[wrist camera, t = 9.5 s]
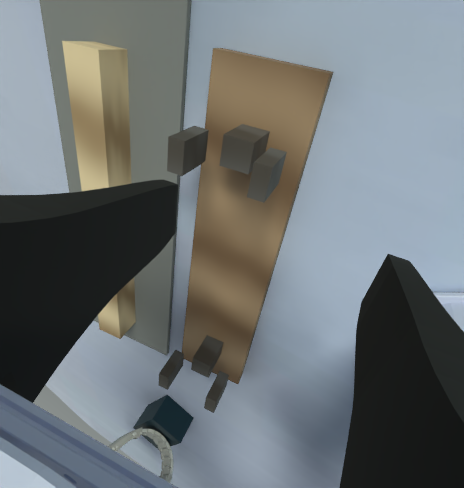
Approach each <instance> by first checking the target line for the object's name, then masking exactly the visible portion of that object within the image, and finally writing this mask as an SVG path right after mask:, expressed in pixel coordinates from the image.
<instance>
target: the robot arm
mask: <svg viewBox="0 0 464 488" xmlns="http://www.w3.org/2000/svg"><path fill="white" fill-rule="evenodd" d="M177 201H178V184H176V183H173V182H170V181H167V180H150V181H143V182H137V183H131V184H126V185H120V186H114V187H108V188H101V189H94V190H88V191H81V192H72V193H62V194H47V195H0V488H178V487H176V486H174V485H172V484H171V483H169V482H167V481H166V480H164V479H162V478H160V477H159V476H157V475H155V474H154V473H152V472H150V471H148V470H147V469H145V468H143V467H142V466H140V465H138V464H136V463H135V462H133V461H131V460H130V459H128V458H126V457H124V456H122V455H121V454H119V453H117V452H116V451H114V450H112V449H111V448H109V447H107V446H105V445H104V444H102V443H100V442H99V441H97V440H95V439H93V438H92V437H90V436H88V435H86V434H85V433H83V432H81V431H80V430H78V429H76V428H74V427H73V426H71V425H69V424H67V423H66V422H64V421H63V420H60V419H59V418H57V417H56V416H54V415H52V414H50V413H49V412H47V411H45V410H44V409H42V408H40V407H38V406H36V405H35V404H33V402H34V400H35V399H36V397H37V396H38V394H39V393H40V391H41V390H42V388H43V387H44V386H45V384H46V383H47V381H48V380H49V378H50V377H51V376H52V374H53V373H54V371H55V370H56V368H57V367H58V366H59V364H60V363H61V362H62V360H63V359H64V358H65V356H66V355H67V354H68V352H69V351H70V349H71V348H72V347H73V345H74V344H75V343H76V341H77V340H78V339H79V338H80V336H81V335H82V334H83V333H84V331H85V330H86V329H87V328H88V326H89V325H90V324H91V323H92V321H93V320H94V319H95V318H96V317H97V315H98V314H99V313H100V312H101V311H102V310H103V308H104V307H105V306H106V305H107V304H108V303H109V301H110V300H111V299H112V298H113V297H114V296H115V295H116V294H117V293H118V292H119V291H120V290H121V289H122V288H123V287H124V286H125V285H126V284H127V283H128V282H129V281H131V280H132V279H133V278H134V277H135V276H136V275H137V274H138V273H139V272H140V271H141V270H142V269H143V268H144V267H146V266H147V265H148V264H149V263H150V262H151V261H152V260H153V259H154V258H155V257H156V256H157V255H158V254H159V253H160V252H161V251H162V250H163V248H164V247H165V246H166V245H167V244H168V242H169V241H170V240H171V238H172V237H173V235H174V234H175V233H176V218H177ZM340 488H464V293H445V292H432V291H431V289H430V288H429V287H428V285H427V284H426V282H425V281H424V280H423V278H422V277H421V275H420V274H419V273H418V271H417V270H416V269H415V267H414V266H413V265H412V264H411V262H410V261H408V260H405V259H402V258H399V257H396V256H393V255H390V254H388V255H387V257H386V258H385V260H384V262H383V264H382V266H381V268H380V269H379V271H378V273H377V275H376V277H375V279H374V280H373V282H372V284H371V286H370V288H369V289H368V291H367V293H366V295H365V297H364V299H363V300H362V303H361V308H360V313H359V318H358V323H357V330H356V351H355V379H354V399H353V410H352V416H351V423H350V429H349V436H348V442H347V448H346V454H345V460H344V466H343V471H342V477H341V482H340Z"/></svg>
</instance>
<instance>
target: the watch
mask: <svg viewBox="0 0 464 488" xmlns="http://www.w3.org/2000/svg"><path fill="white" fill-rule="evenodd" d="M192 420H193V417H192V416H191V415H190V414H188V413H187V412H186V411H185V410H184V409H183V408H182V407H181V406H179V405H178V404H177V403H176V402H175V401H174V400H173V399H171V398H170V397H169V396H168V395H166V396H164V397H162V398H161V399H159V400H157V401H155V402H153V403H151V404H149V405H148V406H147V408H146V409H145V411H144V412H143V414H142V415H141V417H140V418H139V420H138V421H137V423H136V424H135V426H134V427H133V428H134V429H135V430H134V431H132V432H129V433H127V434H125V435H123V436H122V437H120V438H118V439H117V440H116V441H114V442H113V443H112V444H110V445H109V446H108V447H109V448H111V449H112V450H114V451H117V450H118V449H120V448H121V447H122V446H123V445H124V444H126V443H127V442H128V441H130V440H132V439H137V438H139V437H140V435H142V436H144V437H145V438H146V439H147V440H148V441H149V442H151V443H152V444H153V445H154V446H155V447H156V448H158V449H159V451H160V452H161V459H162V460H164V461H162V471H161V476H159V477H160V478H162V479H164V480H166V481H167V482H169V483H170V481H171V480H172V473H173V454H172V450H171V447H170V446H173V445H176V444H179V443H181V441H182V439H183V437H184V435H185V433H186V431H187V430H188V428H189V426H190V424H191V422H192ZM165 456H167V457H165ZM171 458H172V459H171Z"/></svg>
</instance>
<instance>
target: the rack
mask: <svg viewBox="0 0 464 488" xmlns="http://www.w3.org/2000/svg"><path fill="white" fill-rule="evenodd" d="M332 75H333V72H331V71H326V70H321V69H317V68H312V67H307V66H303V65H298V64H293V63H289V62H284V61H279V60H275V59H270V58H265V57H261V56H256V55H251V54H247V53H242V52H237V51H233V50H228V49H223V48H213V55H212V65H211V74H210V84H209V94H208V104H207V113H206V123H205V129H204V128H200V127H197V126H193V127H190V128H188V129H185V130H183V131H181V132H178V133H176V134H173V135H171V136H169V137H168V158H167V171H168V172H171V173H174V174H177V175H180V176H183V175H185V174H186V173H188V172H189V171H191V170H192V169H194V168H196V167H197V166H199V165H200V164H201V172H200V181H199V191H198V201H197V210H196V220H195V230H194V240H193V249H192V259H191V269H190V278H189V288H188V298H187V308H186V317H185V327H184V337H183V346H182V353H181V352H179V351H177V350H175V351H174V353H173V354H172V356H171V357H170V359H169V360H168V362H167V363H166V364H165V366H164V367H163V369H162V370H161V372H160V373H159V386H161V387H163V388H165V389H167V390H168V388H169V387H170V385H171V383H172V382H173V380H174V379H175V377H176V375H177V374H178V372H179V371H180V369H181V368H182V366H183V359H186V360H188V361H190V362H192V368H191V370H193V371H196V372H198V373H200V374H202V375H204V376H206V377H208V378H209V376H210V374H211V372H213V373H215V374H217V377H216V379H215V381H214V383H213V385H212V387H211V389H210V391H209V393H208V395H207V397H206V402H205V407H204V408H205V409H207V410H209V411H211V412H213V413H214V411H215V409H216V407H217V405H218V403H219V400H220V398H221V396H222V394H223V392H224V390H225V387H226V384H227V381H228V380H230V381H232V382H234V383H236V384H238V383H239V381H240V378H241V376H242V374H243V370H244V367H245V364H246V360H247V357H248V354H249V350H250V347H251V344H252V340H253V337H254V334H255V330H256V327H257V324H258V320H259V317H260V314H261V310H262V307H263V304H264V300H265V297H266V294H267V291H268V287H269V284H270V281H271V277H272V274H273V271H274V267H275V264H276V261H277V257H278V254H279V251H280V247H281V244H282V241H283V237H284V234H285V231H286V227H287V224H288V221H289V217H290V214H291V211H292V207H293V204H294V201H295V198H296V194H297V191H298V188H299V184H300V181H301V178H302V174H303V171H304V168H305V164H306V161H307V158H308V154H309V151H310V148H311V144H312V141H313V138H314V134H315V131H316V128H317V124H318V121H319V118H320V115H321V111H322V108H323V105H324V101H325V98H326V95H327V91H328V88H329V85H330V81H331V78H332Z"/></svg>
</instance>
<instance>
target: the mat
mask: <svg viewBox="0 0 464 488" xmlns="http://www.w3.org/2000/svg"><path fill="white" fill-rule="evenodd" d="M40 6H41V13H42V19H43V26H44V32H45V38H46V45H47V51H48V58H49V64H50V71H51V77H52V83H53V90H54V96H55V103H56V109H57V115H58V122H59V128H60V135H61V141H62V148H63V154H64V160H65V167H66V173H67V180H68V186H69V192H70V193H72V192H81V191H82V189H81V182H80V174H79V166H78V159H77V151H76V143H75V136H74V128H73V120H72V113H71V105H70V97H69V90H68V82H67V74H66V67H65V59H64V51H63V44H62V41H89V42H98V43H102V44H106V45H111V46H115V47H119V48H123V49H127V57H128V89H129V122H130V154H131V183H137V182H143V181H150V180H167V181H170V182H173V183H176V184H178V199H179V183H180V175H177V174H174V173H171V172H168V171H167V158H168V137H169V136H171V135H173V134H176V133H178V132H181V131H183V121H184V105H185V90H186V74H187V58H188V43H189V27H190V11H191V0H40ZM177 215H178V201H177ZM176 230H177V218H176ZM175 246H176V233H175V234H174V235H173V237H172V238H171V240H170V241H169V242H168V244H167V245H166V246H165V247H164V248H163V250H162V251H161V252H160V253H159V254H158V255H157V256H156V257H155V258H154V259H153V260H152V261H151V262H150V263H149V264H148V265H147V266H146V267H144V268H143V269H142V270H141V271H140V272H139V273H138V274H137V275H136V276H135V277H134V284H135V317H136V322H135V323H134V324H133V325H132V327H131V328H130V329H129V330H128V331H127V332H126V333H125V334H124V335H125V336H127V337H129V338H131V339H134V340H136V341H138V342H140V343H142V344H144V345H146V346H148V347H150V348H152V349H154V350H157V351H159V352H161V353H163V354H165V355H167V354H168V353H169V340H170V324H171V308H172V293H173V277H174V262H175ZM94 321H96V322H98V323H99V319H98V315H97V317H96V318H95V319H94Z"/></svg>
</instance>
